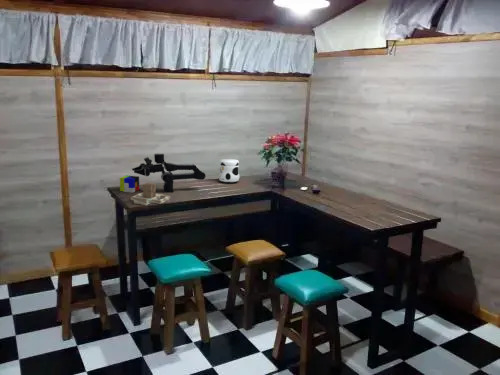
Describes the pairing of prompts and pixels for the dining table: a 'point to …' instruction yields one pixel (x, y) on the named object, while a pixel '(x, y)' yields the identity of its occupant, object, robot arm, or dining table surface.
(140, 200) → the board
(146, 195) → the walnut block
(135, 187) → the puzzle toy
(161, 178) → the robot arm
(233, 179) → the milk container
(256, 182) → the dining table surface
